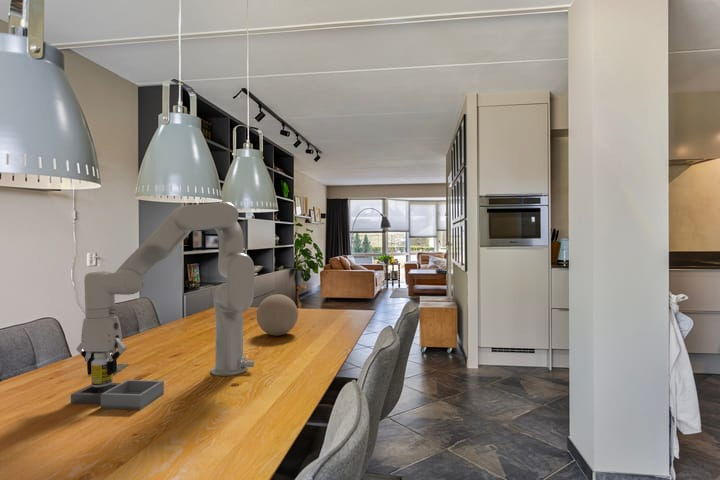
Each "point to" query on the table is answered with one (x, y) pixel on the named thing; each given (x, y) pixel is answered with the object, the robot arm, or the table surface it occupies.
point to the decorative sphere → (277, 314)
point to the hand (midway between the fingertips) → (102, 372)
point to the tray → (132, 394)
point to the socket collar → (90, 394)
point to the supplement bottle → (100, 370)
